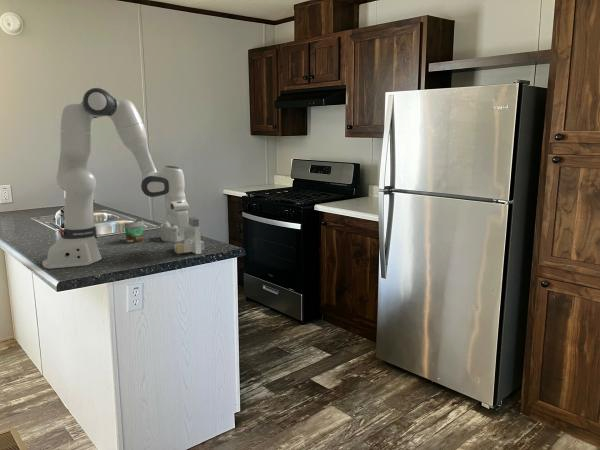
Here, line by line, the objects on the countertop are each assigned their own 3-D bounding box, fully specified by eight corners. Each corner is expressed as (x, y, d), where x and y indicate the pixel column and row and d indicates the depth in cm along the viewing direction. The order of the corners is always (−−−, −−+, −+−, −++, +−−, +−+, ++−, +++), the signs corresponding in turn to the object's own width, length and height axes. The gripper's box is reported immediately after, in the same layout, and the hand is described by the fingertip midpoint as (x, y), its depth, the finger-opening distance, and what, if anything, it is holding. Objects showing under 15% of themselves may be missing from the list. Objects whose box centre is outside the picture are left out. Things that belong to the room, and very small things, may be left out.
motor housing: (195, 254, 221) (194, 220, 218) (184, 247, 234) (183, 215, 231) (201, 253, 223) (199, 219, 220) (190, 246, 235) (188, 214, 232)
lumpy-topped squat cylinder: (173, 242, 244) (172, 225, 242) (155, 239, 251) (154, 222, 249) (189, 238, 252) (188, 221, 250) (172, 235, 259) (171, 218, 258)
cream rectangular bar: (177, 253, 223) (177, 245, 222) (175, 251, 226) (174, 243, 225) (204, 249, 229) (204, 241, 228) (201, 248, 232) (201, 240, 231)
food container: (137, 244, 240) (135, 223, 238) (125, 244, 242) (123, 223, 240) (149, 238, 252) (148, 219, 250) (138, 238, 253) (137, 218, 252)
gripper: (161, 200, 228) (163, 231, 231) (175, 207, 211) (177, 239, 213) (175, 199, 231) (177, 229, 234) (190, 205, 214) (191, 237, 216)
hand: (177, 234), depth 223 cm, fingers open, 8 cm apart
